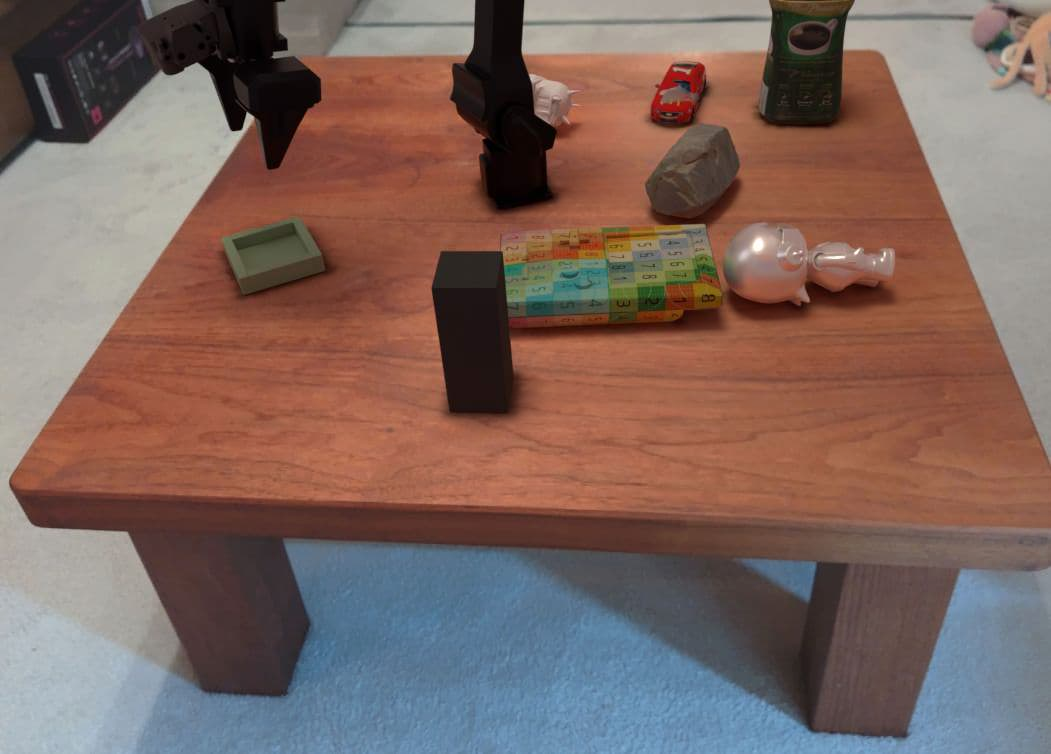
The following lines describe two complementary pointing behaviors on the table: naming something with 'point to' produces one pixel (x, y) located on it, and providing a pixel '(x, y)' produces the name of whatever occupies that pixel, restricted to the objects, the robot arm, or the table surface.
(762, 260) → the figurine
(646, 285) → the puzzle game
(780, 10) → the coffee jar
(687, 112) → the race car
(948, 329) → the table surface
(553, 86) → the robot toy
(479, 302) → the tall black rectangular block
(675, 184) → the stone
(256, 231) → the green square tray
